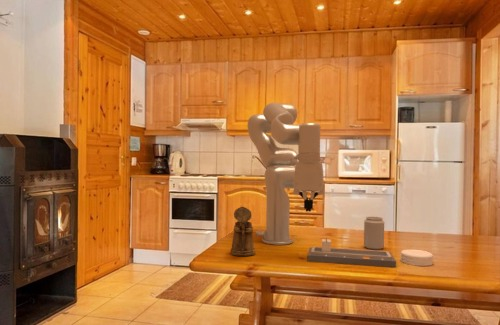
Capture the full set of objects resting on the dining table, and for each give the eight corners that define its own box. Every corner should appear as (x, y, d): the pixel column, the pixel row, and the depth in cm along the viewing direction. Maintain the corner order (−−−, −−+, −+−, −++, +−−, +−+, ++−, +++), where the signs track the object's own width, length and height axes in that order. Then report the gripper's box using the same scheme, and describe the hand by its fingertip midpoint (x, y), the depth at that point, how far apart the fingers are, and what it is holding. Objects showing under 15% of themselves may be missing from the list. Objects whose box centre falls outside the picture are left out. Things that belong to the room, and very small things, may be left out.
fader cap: (321, 253, 130) (321, 240, 130) (322, 250, 134) (322, 237, 134) (330, 253, 129) (330, 240, 129) (330, 250, 133) (330, 238, 133)
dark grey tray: (307, 261, 127) (307, 252, 127) (309, 252, 139) (309, 245, 139) (396, 267, 121) (396, 258, 121) (390, 258, 133) (390, 250, 133)
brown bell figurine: (227, 259, 127) (228, 206, 127) (231, 250, 141) (232, 201, 140) (254, 260, 127) (255, 206, 127) (255, 250, 140) (256, 202, 140)
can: (385, 250, 144) (385, 219, 144) (364, 249, 145) (365, 218, 145) (382, 246, 151) (382, 216, 151) (362, 245, 153) (363, 215, 153)
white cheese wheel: (406, 257, 135) (406, 247, 135) (436, 262, 129) (436, 252, 129) (396, 263, 127) (396, 252, 127) (428, 268, 121) (428, 257, 121)
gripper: (286, 158, 130) (285, 211, 130) (330, 158, 127) (330, 213, 127) (288, 158, 138) (288, 209, 138) (330, 159, 135) (330, 210, 135)
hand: (308, 210), depth 132 cm, fingers closed
